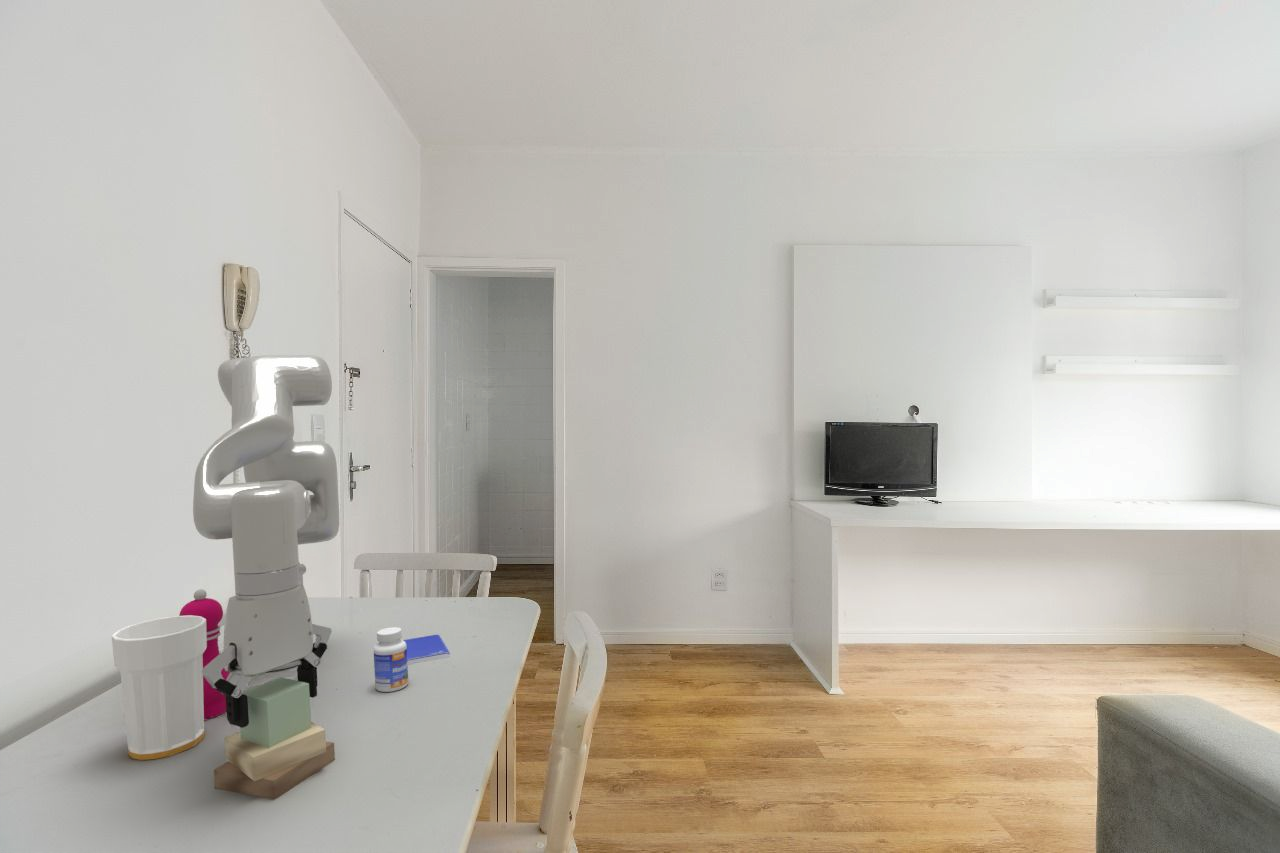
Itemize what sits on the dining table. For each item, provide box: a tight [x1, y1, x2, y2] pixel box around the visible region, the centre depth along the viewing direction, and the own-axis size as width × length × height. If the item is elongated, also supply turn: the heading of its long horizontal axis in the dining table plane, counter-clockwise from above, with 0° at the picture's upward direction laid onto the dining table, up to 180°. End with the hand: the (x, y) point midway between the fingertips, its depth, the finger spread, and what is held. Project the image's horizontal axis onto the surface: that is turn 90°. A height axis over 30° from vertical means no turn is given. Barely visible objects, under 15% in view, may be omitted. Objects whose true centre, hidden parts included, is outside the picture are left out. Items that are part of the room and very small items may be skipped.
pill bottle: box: [373, 626, 409, 693], centre depth 121 cm, size 5×5×10 cm
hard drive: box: [402, 634, 451, 666], centre depth 138 cm, size 2×8×12 cm
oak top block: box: [224, 721, 327, 781], centre depth 93 cm, size 9×9×3 cm
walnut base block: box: [213, 740, 336, 800], centre depth 93 cm, size 10×10×3 cm
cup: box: [111, 615, 207, 761], centre depth 102 cm, size 11×11×17 cm
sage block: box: [239, 676, 312, 748], centre depth 93 cm, size 6×6×6 cm
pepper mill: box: [178, 589, 230, 720], centre depth 113 cm, size 7×7×20 cm
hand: (274, 709), depth 93 cm, fingers open, 9 cm apart
